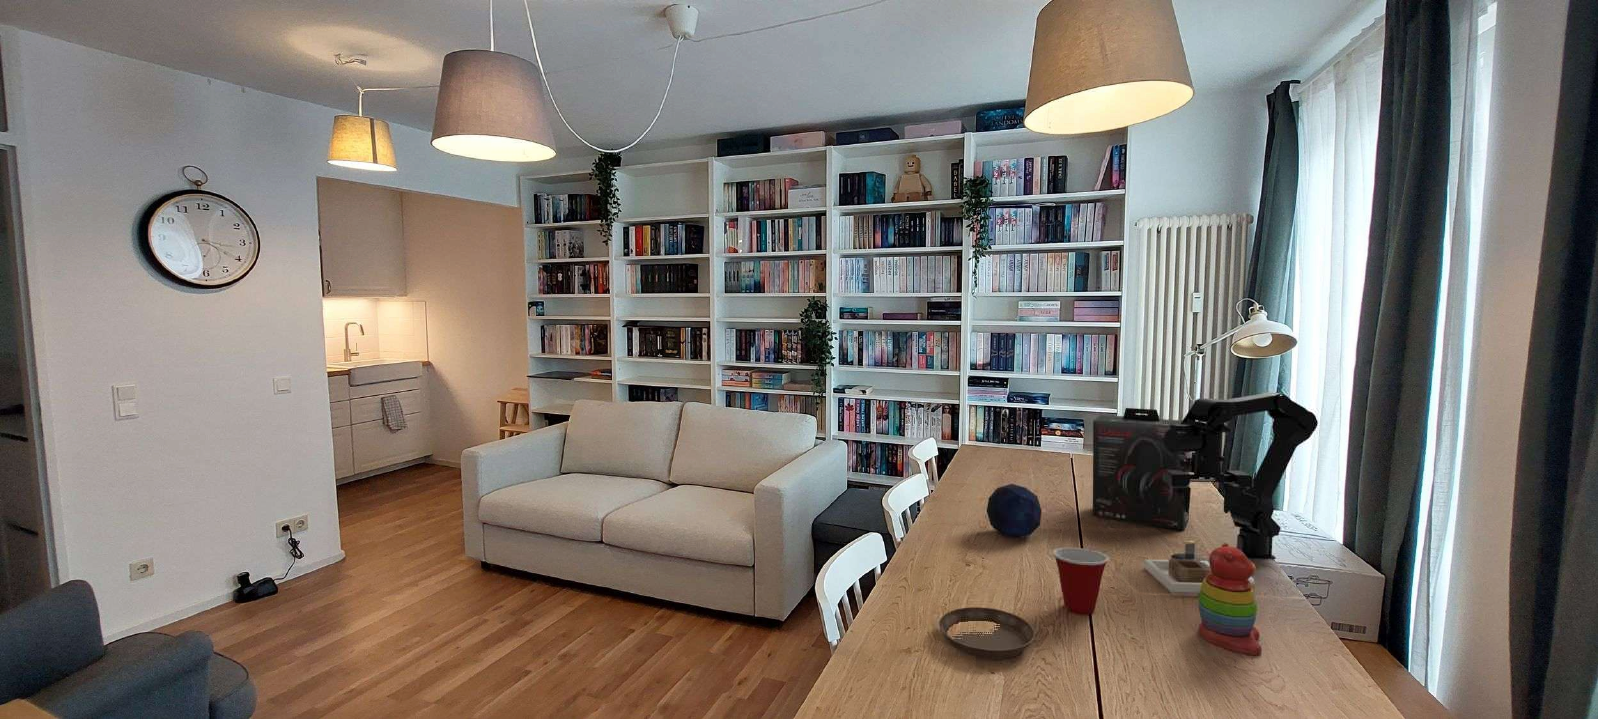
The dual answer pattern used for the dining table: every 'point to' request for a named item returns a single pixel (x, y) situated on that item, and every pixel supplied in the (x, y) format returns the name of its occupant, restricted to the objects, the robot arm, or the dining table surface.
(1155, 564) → the tray
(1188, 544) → the grey rounded piece
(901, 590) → the dining table surface
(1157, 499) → the headset box
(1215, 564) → the stacking bear
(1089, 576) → the plastic cup
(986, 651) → the plant saucer
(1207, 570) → the brown hollow block
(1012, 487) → the decorative orb
